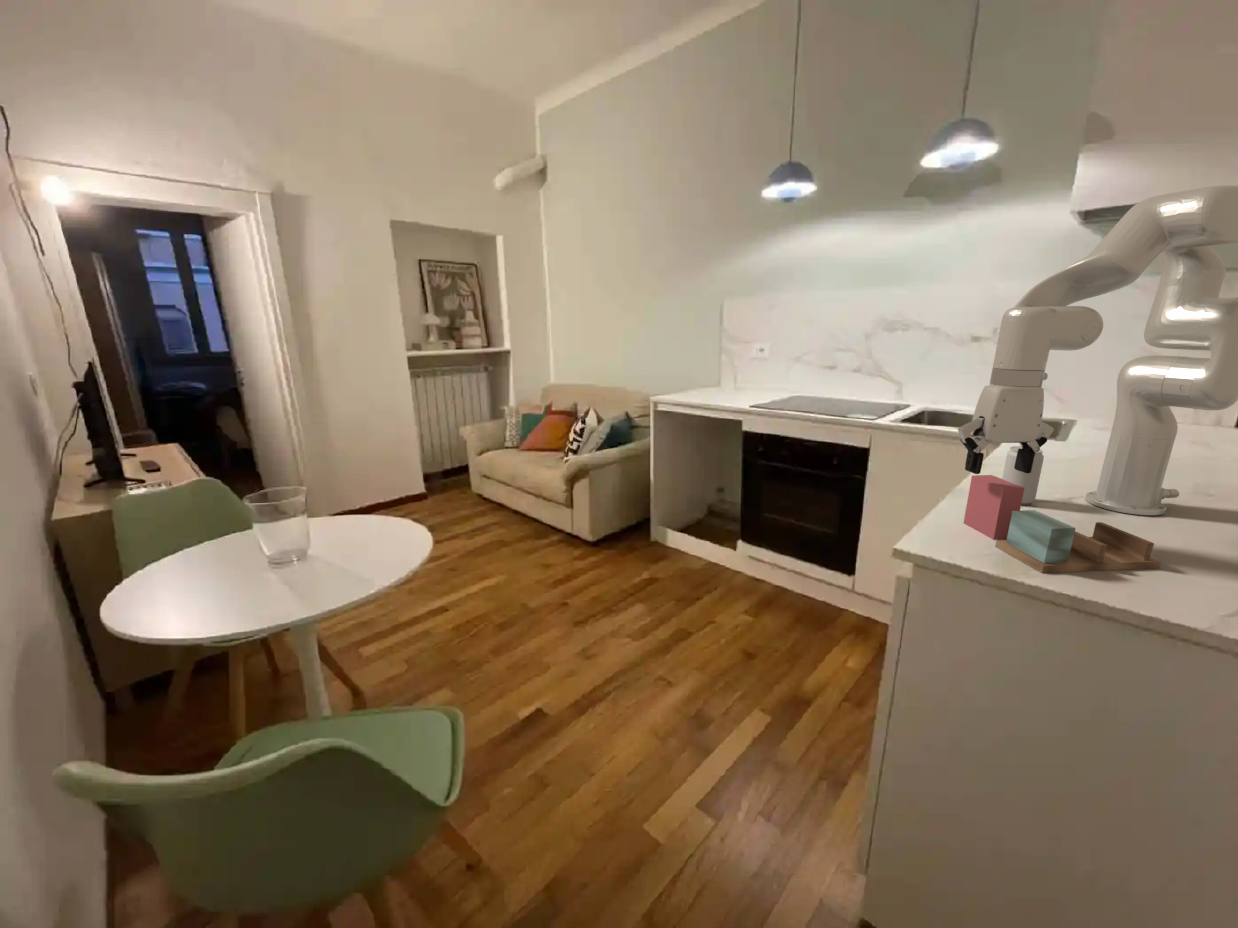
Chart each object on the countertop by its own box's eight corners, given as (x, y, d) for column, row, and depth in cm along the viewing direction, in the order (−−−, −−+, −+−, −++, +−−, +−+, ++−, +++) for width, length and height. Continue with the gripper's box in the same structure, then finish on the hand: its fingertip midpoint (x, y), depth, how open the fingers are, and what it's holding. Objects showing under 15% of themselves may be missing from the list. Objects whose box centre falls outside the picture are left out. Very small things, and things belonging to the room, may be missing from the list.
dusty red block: (982, 522, 104) (991, 474, 101) (1014, 538, 97) (1024, 487, 94) (963, 523, 104) (971, 475, 101) (993, 539, 96) (1003, 488, 94)
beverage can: (1035, 507, 111) (1047, 453, 108) (999, 502, 115) (1009, 450, 111) (1032, 499, 117) (1043, 447, 113) (997, 494, 120) (1007, 444, 117)
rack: (1101, 542, 94) (1110, 505, 92) (1159, 567, 85) (1171, 526, 83) (995, 546, 93) (1002, 509, 91) (1041, 572, 84) (1051, 531, 82)
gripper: (1044, 377, 96) (1025, 465, 101) (955, 377, 95) (939, 466, 100) (1081, 381, 89) (1058, 477, 94) (984, 382, 88) (966, 478, 93)
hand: (997, 471), depth 97 cm, fingers open, 9 cm apart
